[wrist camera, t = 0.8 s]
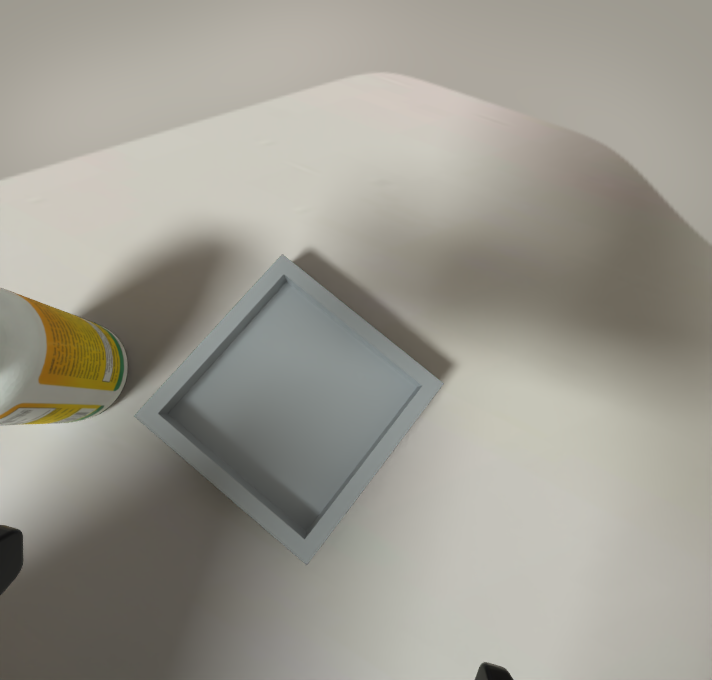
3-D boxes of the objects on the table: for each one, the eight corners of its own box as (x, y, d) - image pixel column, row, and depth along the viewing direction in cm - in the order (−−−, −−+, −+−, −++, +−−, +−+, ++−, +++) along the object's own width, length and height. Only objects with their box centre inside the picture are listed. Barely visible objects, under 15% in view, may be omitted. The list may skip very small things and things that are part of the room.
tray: (308, 551, 20) (306, 565, 18) (150, 415, 21) (134, 416, 19) (434, 385, 22) (443, 383, 20) (286, 266, 23) (282, 254, 21)
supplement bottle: (85, 442, 20) (-128, 470, 11) (5, 384, 21) (-270, 362, 11) (153, 358, 21) (11, 317, 12) (76, 303, 22) (-124, 221, 12)
